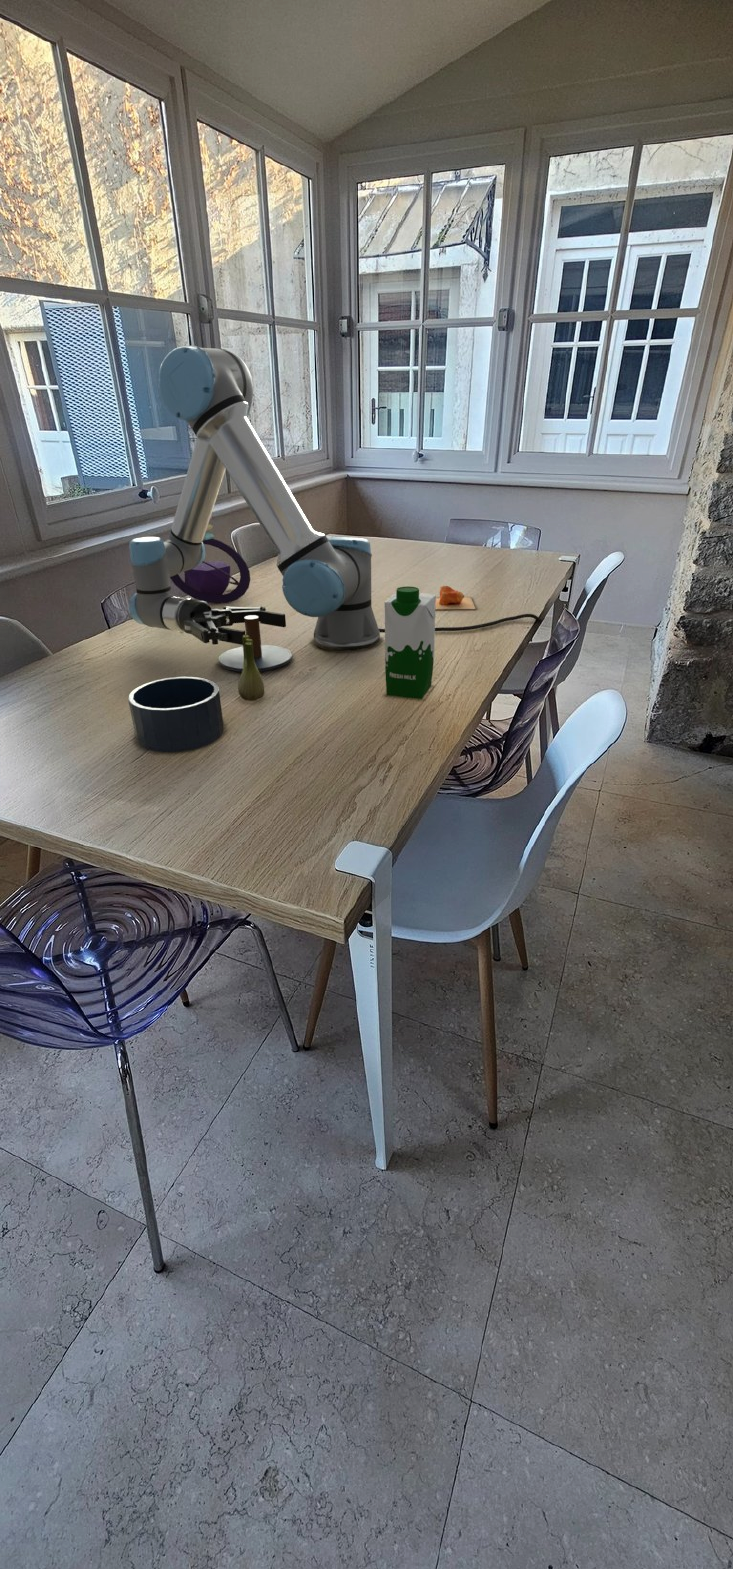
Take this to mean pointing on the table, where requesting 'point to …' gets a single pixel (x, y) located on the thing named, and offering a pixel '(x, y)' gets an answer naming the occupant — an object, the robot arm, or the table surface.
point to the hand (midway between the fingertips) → (265, 629)
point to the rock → (453, 600)
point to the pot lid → (255, 651)
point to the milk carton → (409, 642)
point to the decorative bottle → (214, 576)
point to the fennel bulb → (250, 674)
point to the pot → (176, 714)
